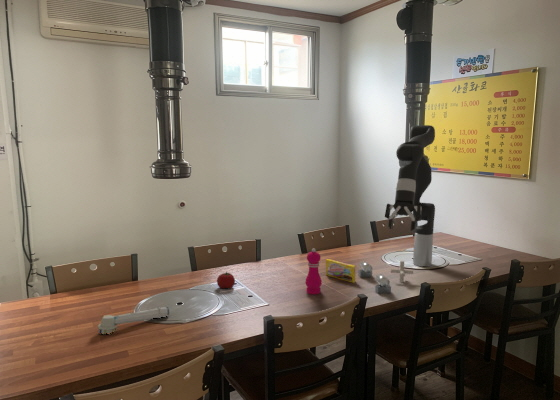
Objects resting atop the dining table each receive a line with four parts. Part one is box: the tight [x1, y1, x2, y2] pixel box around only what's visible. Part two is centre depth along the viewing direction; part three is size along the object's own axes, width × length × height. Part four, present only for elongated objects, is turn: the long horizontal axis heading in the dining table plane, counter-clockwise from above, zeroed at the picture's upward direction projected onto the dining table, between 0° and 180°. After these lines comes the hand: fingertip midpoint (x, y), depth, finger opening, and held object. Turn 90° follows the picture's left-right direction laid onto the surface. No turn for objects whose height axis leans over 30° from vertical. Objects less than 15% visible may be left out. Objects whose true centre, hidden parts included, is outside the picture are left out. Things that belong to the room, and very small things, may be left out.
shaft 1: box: [357, 260, 373, 279], centre depth 198 cm, size 6×6×7 cm
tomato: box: [216, 271, 236, 289], centre depth 186 cm, size 8×8×7 cm
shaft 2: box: [374, 273, 392, 295], centre depth 180 cm, size 6×6×7 cm
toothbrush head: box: [97, 306, 170, 335], centre depth 150 cm, size 5×7×25 cm
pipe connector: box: [390, 260, 414, 283], centre depth 191 cm, size 10×10×10 cm
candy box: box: [325, 258, 356, 284], centre depth 196 cm, size 16×2×8 cm, turn 47°
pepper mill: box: [304, 248, 323, 295], centre depth 179 cm, size 7×7×20 cm
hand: (401, 230), depth 165 cm, fingers open, 8 cm apart
